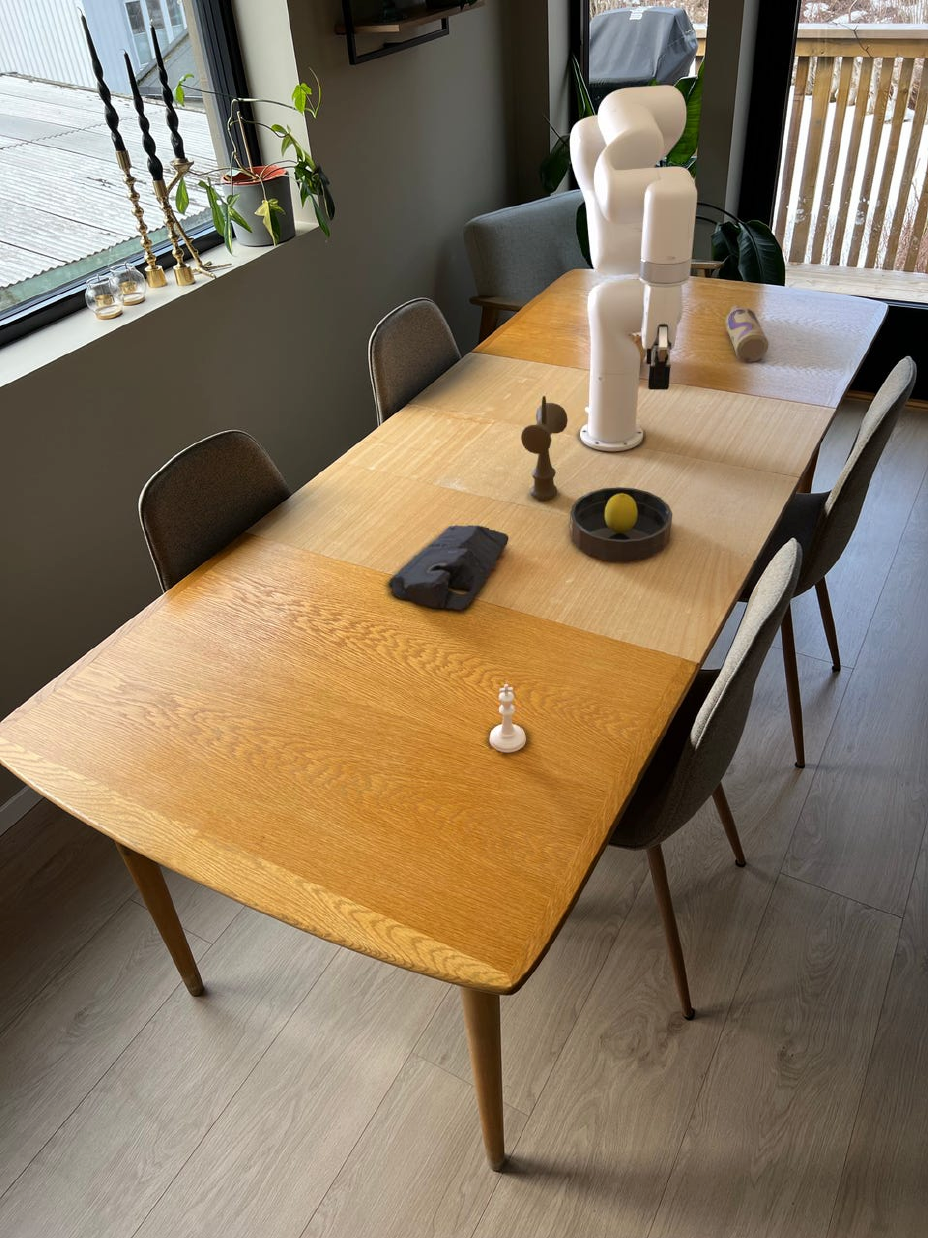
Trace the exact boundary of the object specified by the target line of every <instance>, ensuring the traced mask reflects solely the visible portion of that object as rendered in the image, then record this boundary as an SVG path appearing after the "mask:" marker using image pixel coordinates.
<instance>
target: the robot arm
mask: <svg viewBox="0 0 928 1238" xmlns="http://www.w3.org/2000/svg"><path fill="white" fill-rule="evenodd" d="M686 123H687V105H686V101H685V98H684V96H683V93H682V92H681V91H680V90H679V89H678V88H676V87H675V86H673V85H668V84H667V85H650V86H634V87H625V88H620V89H616V90H614V91H612V92H610V93H608V94H607V95H606V96H605V97H604V99H602V101H601V103H600V104H599V107H598V111H597V114H596V115H590V116H587V117H584V118H582V119H579V120H578V121H577V122H576V123H575V124H574V125H573V127H572V129H571V132H570V136H569V137H570V138H569V151H570V160H571V164H572V170H573V172H574V177H575V179H576V181H577V184H578V187H579V188H580V191H581V193H582V197H583V200H584V203H585V209H586V221H587V222H586V223H587V231H588V233H587V234H588V244H589V254H590V260H591V264H592V267H593V269H594V271H595V272H596V273H597V274H599V275H601V276H626V275H627V276H628V275H639V277H638V278H629V279H628V278H627V279H616V280H615V279H614V280H609V281H605V282H601V283H599V284H596V285H595V286H594V287H593V288H592V289H591V290H590V291H589V294H588V297H587V315H588V316H587V317H588V324H589V334H590V361H589V362H590V367H589V393H588V395H589V397H588V406H586V407H585V408H584V413H586V414H587V415H588V417H587V423H585V424H584V425H583V426H582V427H581V429H580V432H579V433H580V435H579V437H580V440H581V441H582V443H583V444H585V445H586V446H588V447H589V448H592V449H595V450H598V451H604V452H621V451H626V450H630V449H633V448H635V447H636V446H638V445H640V444H641V442H642V441H643V438H644V431H643V428H642V427H641V426H640V425H639V424H637V413H638V403H639V401H638V400H639V387H640V386H639V385H640V371H641V370H640V369H641V364H640V352H639V349H638V347H637V346H636V344H635V343H634V342H633V341H632V339H631V338H630V337H629V336H628V335H629V334H639V333H641V337H642V346H643V348H644V349H645V350H647V353H646V356H645V363H646V365H649V366H648V382H647V388H648V390H650V391H654V390H655V391H656V390H657V391H659V390H660V391H667V390H669V388H670V380H671V379H670V378H671V377H670V376H671V366H672V365H671V351H672V350H673V349H675V346H676V338H677V332H678V325H679V324H680V323H681V320H682V317H683V313H684V297H683V285H685V284H687V283H688V282H689V281H690V280H691V268H692V256H693V247H694V237H695V225H696V213H697V205H698V204H697V202H698V189H697V187H696V182H695V179H694V177H692V175H691V173H690V171H689V170H688V169H687V168H686V167H683V166H661V167H656V165H657V164H658V163H659V162H660V161H662V160H663V159H665V158H666V157H667V156H668V154H669V153H670V151H671V150H672V149H673V148H674V147H675V145H676V144H677V143H678V142H679V140H680V139H681V137H682V136H683V133H684V130H685V128H686Z"/></svg>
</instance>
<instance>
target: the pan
mask: <svg viewBox="0 0 928 1238" xmlns="http://www.w3.org/2000/svg"><path fill="white" fill-rule="evenodd" d="M621 493H624V494H627V495H629V496H630V497H632V498H633V499H634V501H635V503H636V506H637V520H636V523H635V525H634V526H633V527H632V529H630V530H629V531H627V532H624V533H621V534H619V533H617V532H614V531H612V530H611V529H610V528H609V527H608V526H607V523H606V521H605V508H606V505H607V503H608V501H609V500H610V498H612V497H613V496H614V495H616V494H621ZM672 523H673V512H672V509H671V507H670V505H669V504H668V503H667V502H666V501H665V500H664V499H662V498H661V497H660V496H658V495H655V494H654V493H651V492H649V491H646V490H642V489H638V488H632V487H622V486H621V487H620V486H617V487H604V488H600V489H597V490H593V491H592V490H591V491H590V492H588V493H586V494H584V495H582V496H580V497H579V498H578V499H576V501H575V502H573V504H572V506H571V509H570V513H569V535H570V539H571V542H572V543H573V544H574V545H575V546H576V547H577V549H578V550H580V551H581V552H583V553H585V554H587V555H588V556H590V557H592V558H595V559H599V560H602V561H606V562H612V563H613V562H614V563H632V562H638V561H639V562H640V561H643V560H646V559H649V558H652V557H654V556H656V555H657V554H659V553H660V552H662V551H664V550H665V549H666V547H667V546H668V544H669V543H670V540H671V534H672V533H671V532H672Z"/></svg>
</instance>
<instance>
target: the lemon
mask: <svg viewBox="0 0 928 1238" xmlns="http://www.w3.org/2000/svg"><path fill="white" fill-rule="evenodd" d="M636 520H637V506H636V503H635V501H634V499H633V498H632V497H630V496H629V495H627V494H624V493H621V494H616V495H614V496H613V497H612V498H610V500H609V501H608V503H607V505H606V508H605V521H606V523H607V526H608V527H609V528H610V529H611V530H612V531H614V532H617V533H619V534H621V533H624V532H627V531H629V530H630V529H632V527H633V526H634V525H635V523H636Z"/></svg>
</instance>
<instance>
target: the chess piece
mask: <svg viewBox="0 0 928 1238" xmlns="http://www.w3.org/2000/svg"><path fill="white" fill-rule="evenodd" d="M503 686H504V687H499V695H498V700H499V702H500V704H501V705H500V706H499V707H498V712H499V714H500V715H502V720H501V721H502V722H501V723H500V724H499V725H497V726H495V727H493V729H491V732H490V734H489V743H490V745H491V747H492V748H493V749H495V750H496V751H498V752H501V753H515V752H517V751H519V750H521V749H522V748H523V747H524V746H525V744H526V742H527V737H526V732H525V731H524V730H523V728H522V727H521V726H519V725H517V724H514V723H513V719H512V715H513V714H514V713H515V711H516V708H515V706H514V705H513V702H514V699H515V694H514V693H513V692H514V687H513V686H510V687H509V684H508V683H504V685H503Z"/></svg>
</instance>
